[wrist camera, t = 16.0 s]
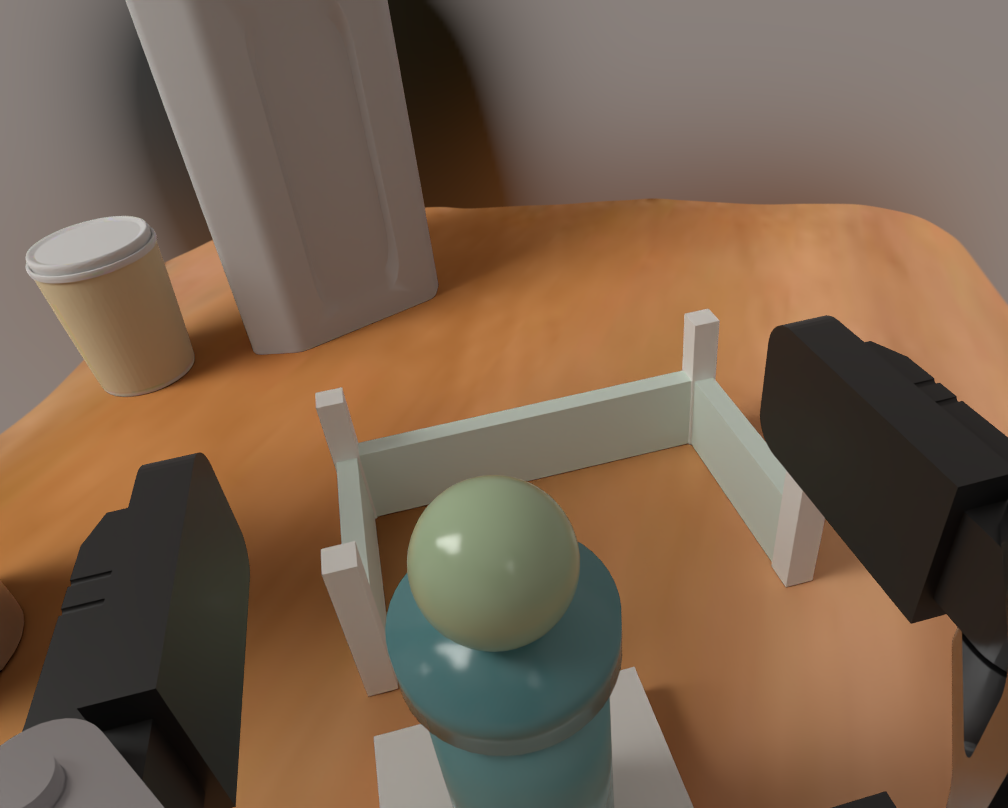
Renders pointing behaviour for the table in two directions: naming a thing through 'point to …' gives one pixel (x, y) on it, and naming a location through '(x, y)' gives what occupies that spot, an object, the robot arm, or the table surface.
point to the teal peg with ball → (508, 648)
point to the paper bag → (296, 158)
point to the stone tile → (635, 757)
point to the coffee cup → (115, 302)
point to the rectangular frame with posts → (553, 473)
